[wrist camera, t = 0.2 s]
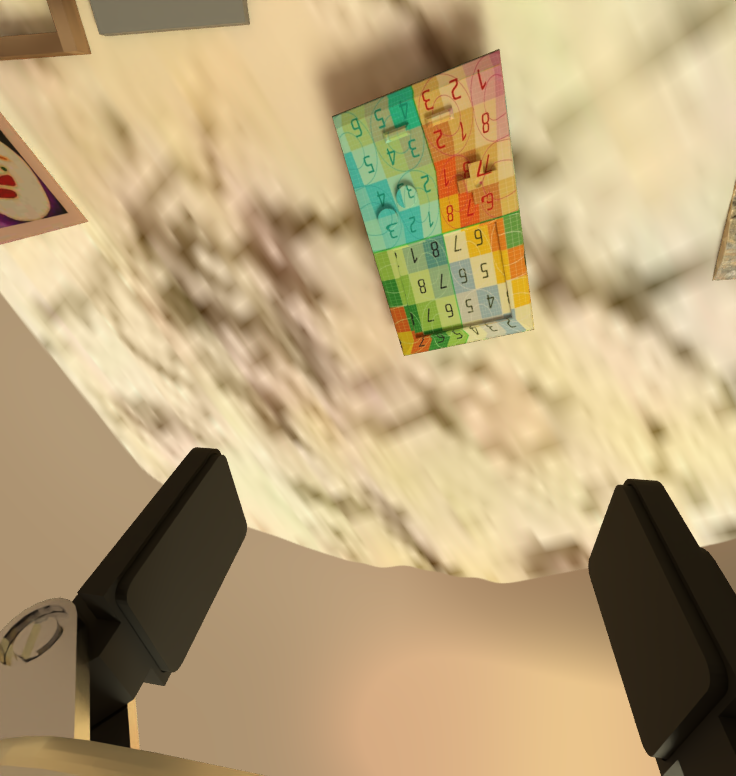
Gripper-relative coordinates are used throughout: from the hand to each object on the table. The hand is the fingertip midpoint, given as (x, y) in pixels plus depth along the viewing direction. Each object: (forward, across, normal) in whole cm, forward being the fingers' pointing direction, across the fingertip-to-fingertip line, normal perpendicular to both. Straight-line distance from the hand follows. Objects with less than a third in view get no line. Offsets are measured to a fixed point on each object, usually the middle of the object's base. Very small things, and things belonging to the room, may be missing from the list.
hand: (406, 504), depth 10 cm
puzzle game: (+32, 0, -1) cm, 32 cm away
